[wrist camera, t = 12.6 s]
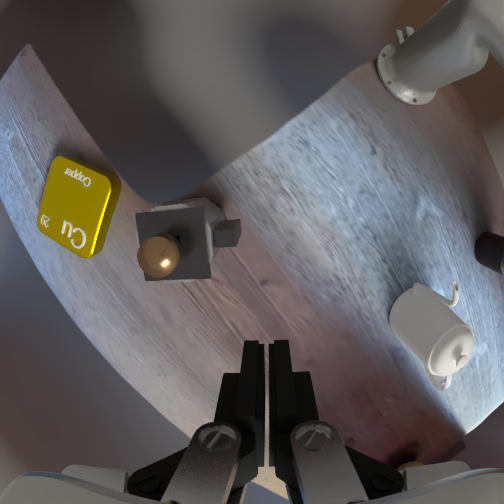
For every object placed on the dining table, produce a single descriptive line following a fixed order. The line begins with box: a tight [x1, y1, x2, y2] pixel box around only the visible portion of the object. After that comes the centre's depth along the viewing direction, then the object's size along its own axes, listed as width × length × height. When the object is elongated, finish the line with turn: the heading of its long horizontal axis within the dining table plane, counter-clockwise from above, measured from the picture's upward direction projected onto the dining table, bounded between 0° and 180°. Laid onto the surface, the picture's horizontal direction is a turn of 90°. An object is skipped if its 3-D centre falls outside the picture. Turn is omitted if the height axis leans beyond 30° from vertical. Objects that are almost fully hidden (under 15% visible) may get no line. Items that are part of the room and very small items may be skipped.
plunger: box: [137, 233, 182, 278], centre depth 33 cm, size 7×7×14 cm
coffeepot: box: [389, 280, 474, 390], centre depth 39 cm, size 11×25×19 cm, turn 21°
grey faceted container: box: [135, 197, 241, 283], centre depth 38 cm, size 9×12×15 cm
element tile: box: [37, 156, 121, 258], centre depth 43 cm, size 15×15×5 cm
